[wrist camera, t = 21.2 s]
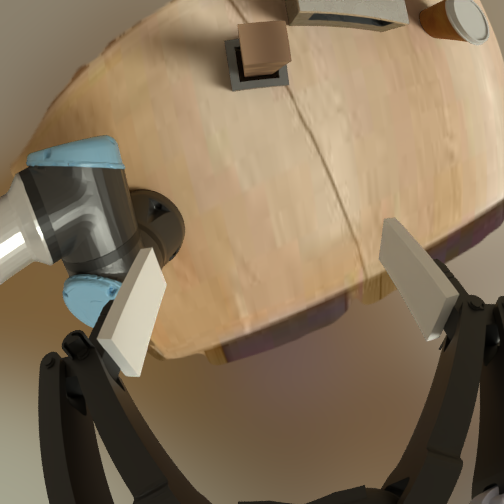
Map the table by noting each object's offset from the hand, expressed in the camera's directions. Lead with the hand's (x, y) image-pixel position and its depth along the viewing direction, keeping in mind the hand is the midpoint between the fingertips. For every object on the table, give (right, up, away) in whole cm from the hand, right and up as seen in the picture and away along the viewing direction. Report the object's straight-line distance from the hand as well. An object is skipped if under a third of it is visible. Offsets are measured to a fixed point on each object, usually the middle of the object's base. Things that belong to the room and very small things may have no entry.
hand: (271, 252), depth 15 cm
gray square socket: (0, +28, +19) cm, 34 cm away
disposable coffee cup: (+32, +42, +12) cm, 54 cm away
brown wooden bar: (0, +28, +19) cm, 34 cm away
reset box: (+12, +41, +11) cm, 44 cm away
